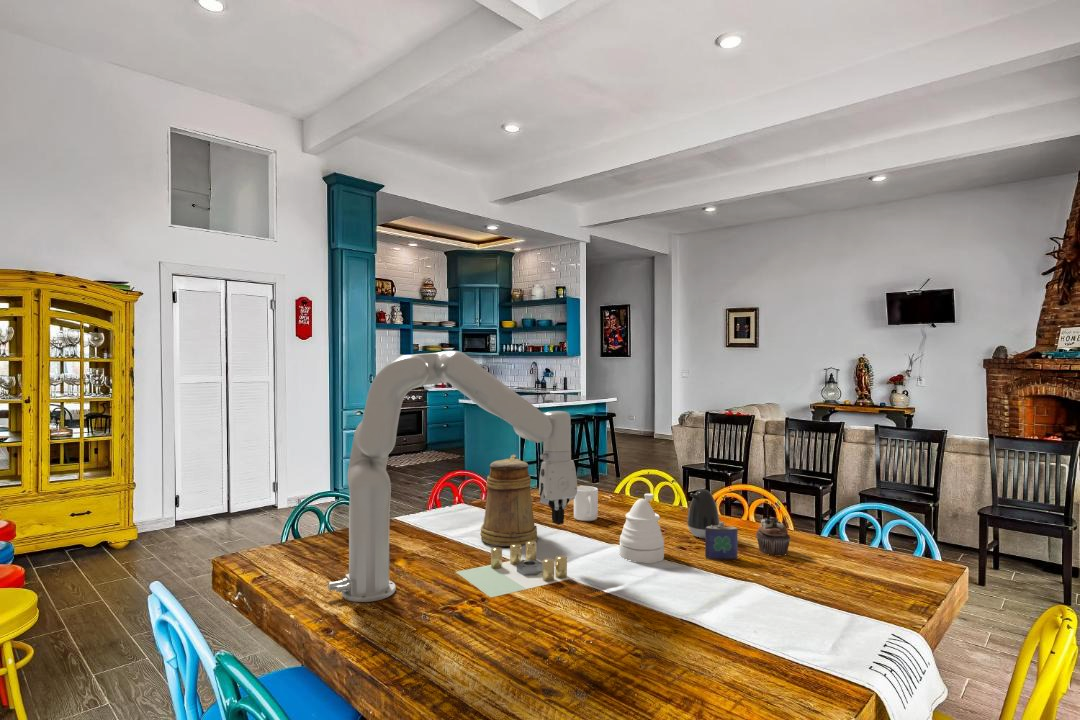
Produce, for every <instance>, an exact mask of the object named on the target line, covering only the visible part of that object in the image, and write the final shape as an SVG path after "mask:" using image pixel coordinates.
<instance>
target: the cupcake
mask: <svg viewBox="0 0 1080 720" xmlns="http://www.w3.org/2000/svg"><path fill="white" fill-rule="evenodd" d="M760 523H761V525H759V526H758V527H759V528H758V530H756V532H755V536H756V540H757V544H758V551H759V552H760V553H761V552H762V554H763V553H764V555H766V554H769V555H768V556H771V555H784V556H786V555H787V554H788V551H789V546H790V542H791V536H790V535H789V532H788V530H787V528H786V526H784V523H783V522H781V521H779V518H777V517H776V518H775V517H773V518H771V517H770V518H769V517H763V518H762V519H761V520H760ZM785 554H786V555H785Z"/></svg>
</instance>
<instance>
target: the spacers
mask: <svg viewBox="0 0 1080 720" xmlns="http://www.w3.org/2000/svg"><path fill="white" fill-rule="evenodd" d="M536 541H537V540H536ZM536 541H527V542H526V544H525V558H526V559H537V542H536ZM521 559H522V545H521V544H511V545H510V546H509V561H510V564H511V565H517V563H518V562H520V561H521ZM502 562H503V547H501V546H500V547H499V546H495V547H494V546H493V547H491V548H490V565H491V568H492V569H500V568H502ZM542 562H543V576H542V580H543V581H546V582H551V581H554V568H555V577H556V578H559V579H564V578H566V577H567V575H568V557H567V556H566V555H556V556H555V559H553V558H549V557H546V558H543V559H542Z"/></svg>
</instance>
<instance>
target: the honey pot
mask: <svg viewBox="0 0 1080 720" xmlns="http://www.w3.org/2000/svg"><path fill="white" fill-rule="evenodd" d="M643 495H644V496H643V497H644V498H639V499H637V500H636V501H635V502H634V504H633V505H632V506H631V508H630V510H629V511H628V512H627V513H625V516H624V517H625V523H624V524H623V526H622V527H623V528H622V531H621V534H620V536H619V557H620V556H621V557H620V558H622V559H623V558H624V559H623V560H625V559H627V560H626V561H628V560H631V561H636V562H635V563H637V562H654V563H658V562H657V561H659V562H661V561H662V560H664V558H665V537H664V536H663V531H662V530H661V526H660V524H659V522H658V521H659V520H660V518H661V517H660V514H658V513H656V512H655V511H654V509H653V507H652V506H651V504H650V503H649V502H651V501H652V500H653V498H654V494H653V493H644V494H643ZM631 561H630V562H631Z"/></svg>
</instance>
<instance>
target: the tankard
mask: <svg viewBox="0 0 1080 720" xmlns="http://www.w3.org/2000/svg"><path fill="white" fill-rule="evenodd" d="M489 468H490V471H489V475H487V477H486V478H487V479H486V488H487V493H486V494H487V495H486V503H485V509H484V518H483V524H482V525H481V527H480V539H481V541H482V542H483V543H486V544H489V545H493V546H498V547H499V546H500V547H502V546H503V547H510V545H511V544H521V546H526V542H527V541H537V540H538V531H537V530H538V527H537V525H535V519H534V509H533V501H532V491H531V485H532V479H531V475H530V474H529V464H528V462H526V461H522V460H521V459H520V458H517V455H516V454H512V455H510V457H509V458H504V459H499V460H495V461H492V462H491V463H490V464H489Z"/></svg>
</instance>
